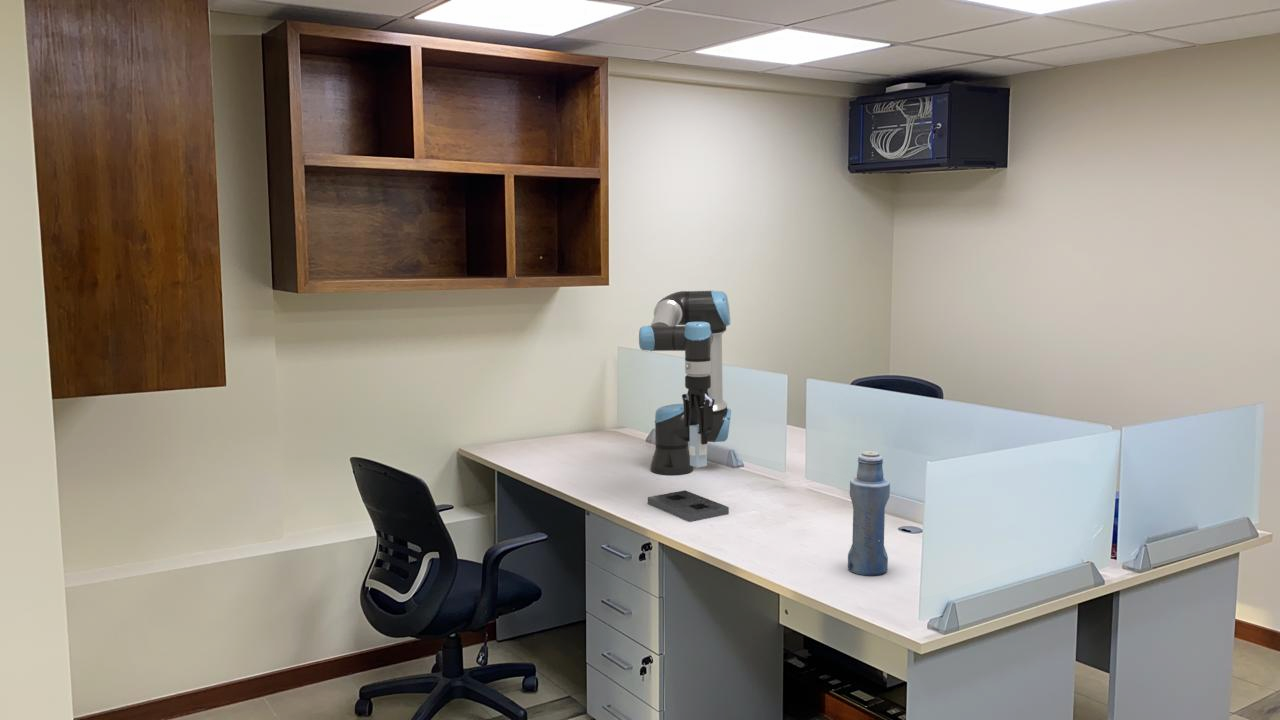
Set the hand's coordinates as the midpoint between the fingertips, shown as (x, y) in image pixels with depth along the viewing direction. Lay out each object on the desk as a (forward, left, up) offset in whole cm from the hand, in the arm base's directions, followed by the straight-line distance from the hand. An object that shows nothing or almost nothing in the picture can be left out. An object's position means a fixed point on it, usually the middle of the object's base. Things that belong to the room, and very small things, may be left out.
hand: (698, 453), depth 295 cm
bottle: (-8, +62, -19) cm, 65 cm away
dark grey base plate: (0, -6, -19) cm, 20 cm away
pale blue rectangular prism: (0, 0, -4) cm, 4 cm away
